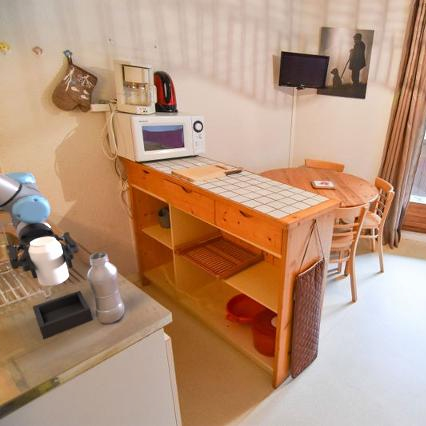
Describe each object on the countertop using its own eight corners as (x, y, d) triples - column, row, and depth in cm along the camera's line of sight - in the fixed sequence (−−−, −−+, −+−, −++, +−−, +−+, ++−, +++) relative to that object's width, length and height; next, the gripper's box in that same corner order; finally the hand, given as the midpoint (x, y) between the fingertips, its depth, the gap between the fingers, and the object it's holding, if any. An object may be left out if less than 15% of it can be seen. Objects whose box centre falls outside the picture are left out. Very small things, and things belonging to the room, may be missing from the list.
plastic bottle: (93, 319, 86) (76, 256, 79) (118, 306, 92) (106, 246, 84) (104, 330, 83) (89, 265, 76) (130, 316, 89) (118, 254, 81)
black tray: (43, 339, 79) (39, 327, 78) (36, 317, 86) (32, 306, 84) (92, 320, 86) (90, 308, 85) (83, 301, 93) (80, 290, 91)
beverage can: (34, 283, 82) (20, 242, 77) (60, 272, 87) (49, 233, 82) (48, 291, 80) (35, 249, 75) (74, 278, 85) (64, 239, 80)
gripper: (78, 236, 100) (101, 267, 86) (-6, 256, 86) (3, 296, 72) (73, 214, 97) (95, 243, 83) (-16, 232, 84) (-7, 269, 70)
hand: (52, 268), depth 78 cm, fingers closed on beverage can, 6 cm apart
